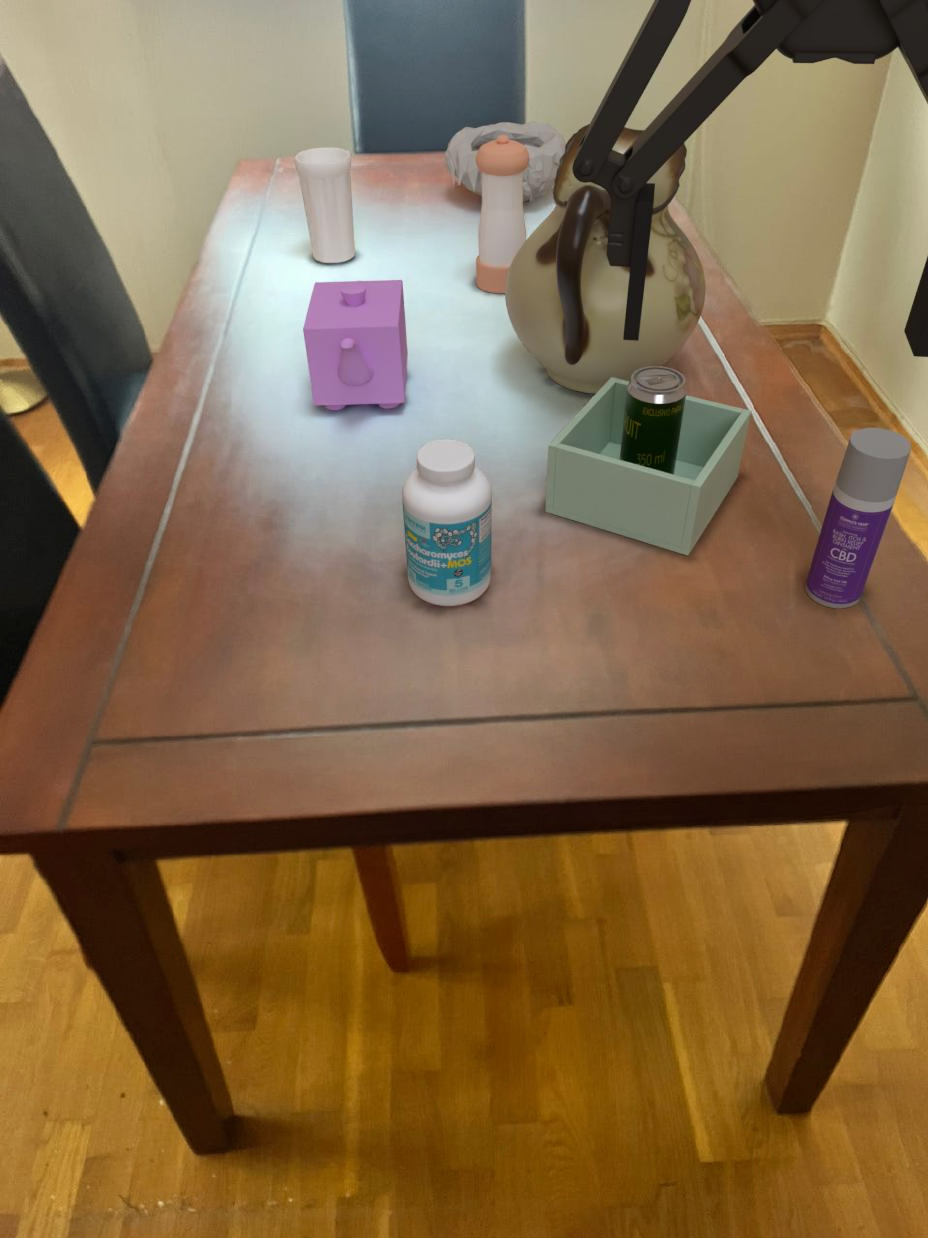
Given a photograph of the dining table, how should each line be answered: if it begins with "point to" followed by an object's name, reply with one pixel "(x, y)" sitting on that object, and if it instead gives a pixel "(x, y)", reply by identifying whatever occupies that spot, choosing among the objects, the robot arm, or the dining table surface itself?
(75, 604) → the dining table surface
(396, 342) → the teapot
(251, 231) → the dining table surface
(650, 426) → the beer can
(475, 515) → the pill bottle
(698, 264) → the pitcher
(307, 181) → the cup
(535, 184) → the bowl
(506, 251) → the pepper shaker
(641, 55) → the robot arm
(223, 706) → the dining table surface
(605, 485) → the bin
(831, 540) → the container
